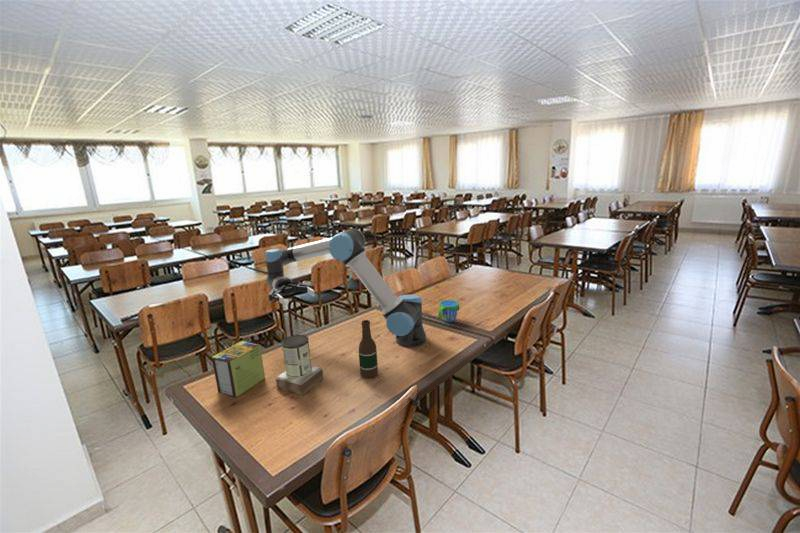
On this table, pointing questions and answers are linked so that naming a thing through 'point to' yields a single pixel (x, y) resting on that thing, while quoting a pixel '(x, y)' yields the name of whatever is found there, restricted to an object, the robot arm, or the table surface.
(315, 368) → the stand
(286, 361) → the coffee can
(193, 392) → the table surface
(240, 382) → the protein box
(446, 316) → the snack cup
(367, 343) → the beer bottle
